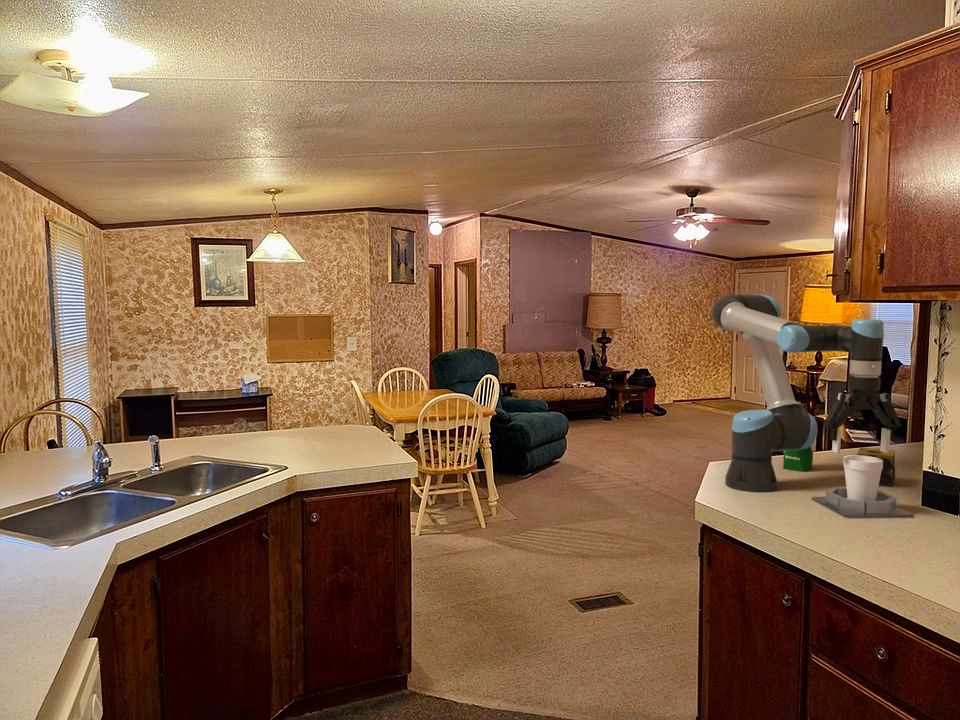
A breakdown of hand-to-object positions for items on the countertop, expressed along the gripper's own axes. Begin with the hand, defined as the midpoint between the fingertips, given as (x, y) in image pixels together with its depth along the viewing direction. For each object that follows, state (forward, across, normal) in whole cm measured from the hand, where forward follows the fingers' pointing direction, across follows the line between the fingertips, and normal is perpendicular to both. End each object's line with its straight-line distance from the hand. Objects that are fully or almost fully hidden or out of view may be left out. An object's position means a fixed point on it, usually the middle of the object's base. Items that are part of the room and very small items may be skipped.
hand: (860, 452), depth 188 cm
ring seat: (+16, 0, -1) cm, 16 cm away
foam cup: (+15, +1, -1) cm, 15 cm away
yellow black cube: (+16, +22, +28) cm, 39 cm away
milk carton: (+17, +6, +47) cm, 50 cm away
